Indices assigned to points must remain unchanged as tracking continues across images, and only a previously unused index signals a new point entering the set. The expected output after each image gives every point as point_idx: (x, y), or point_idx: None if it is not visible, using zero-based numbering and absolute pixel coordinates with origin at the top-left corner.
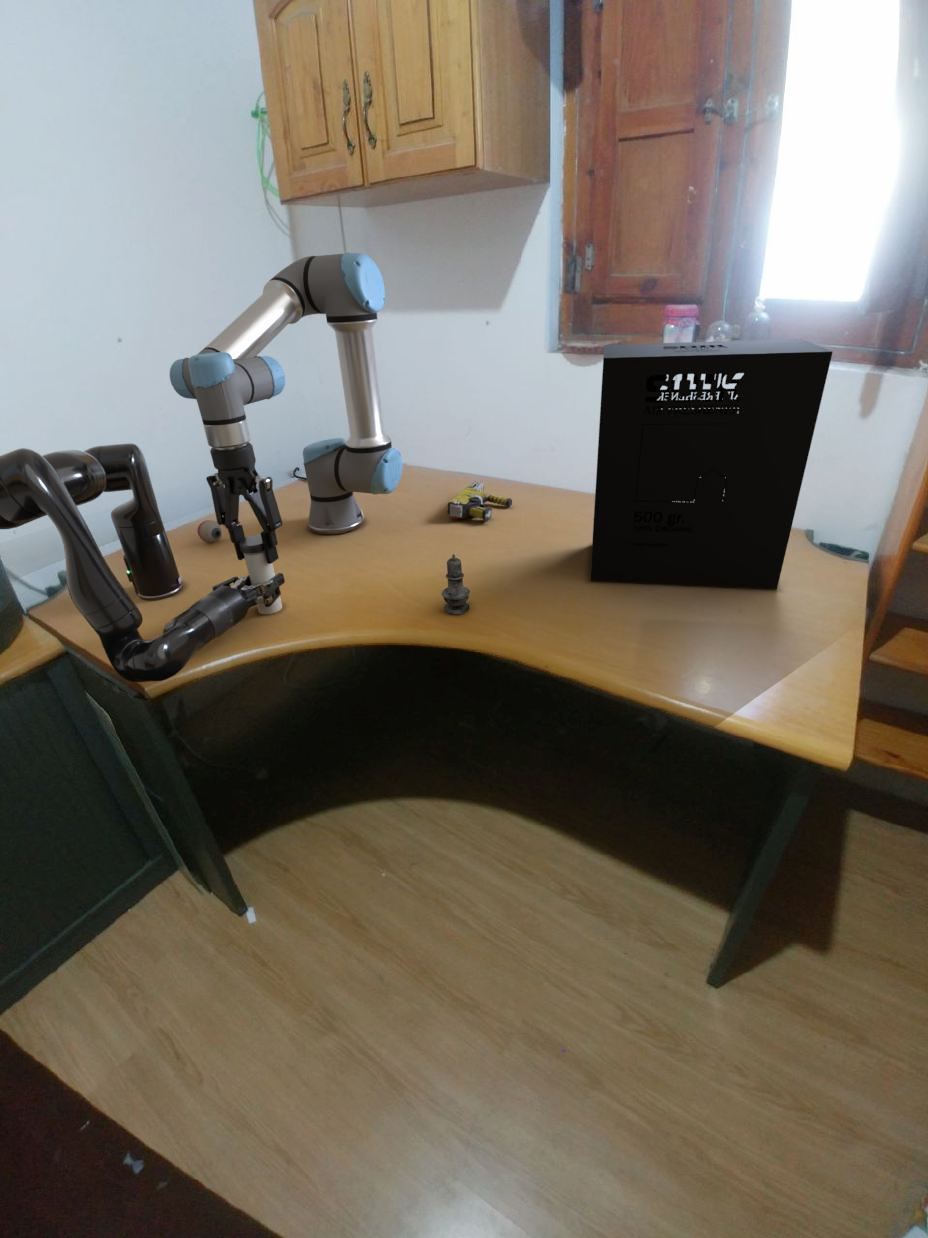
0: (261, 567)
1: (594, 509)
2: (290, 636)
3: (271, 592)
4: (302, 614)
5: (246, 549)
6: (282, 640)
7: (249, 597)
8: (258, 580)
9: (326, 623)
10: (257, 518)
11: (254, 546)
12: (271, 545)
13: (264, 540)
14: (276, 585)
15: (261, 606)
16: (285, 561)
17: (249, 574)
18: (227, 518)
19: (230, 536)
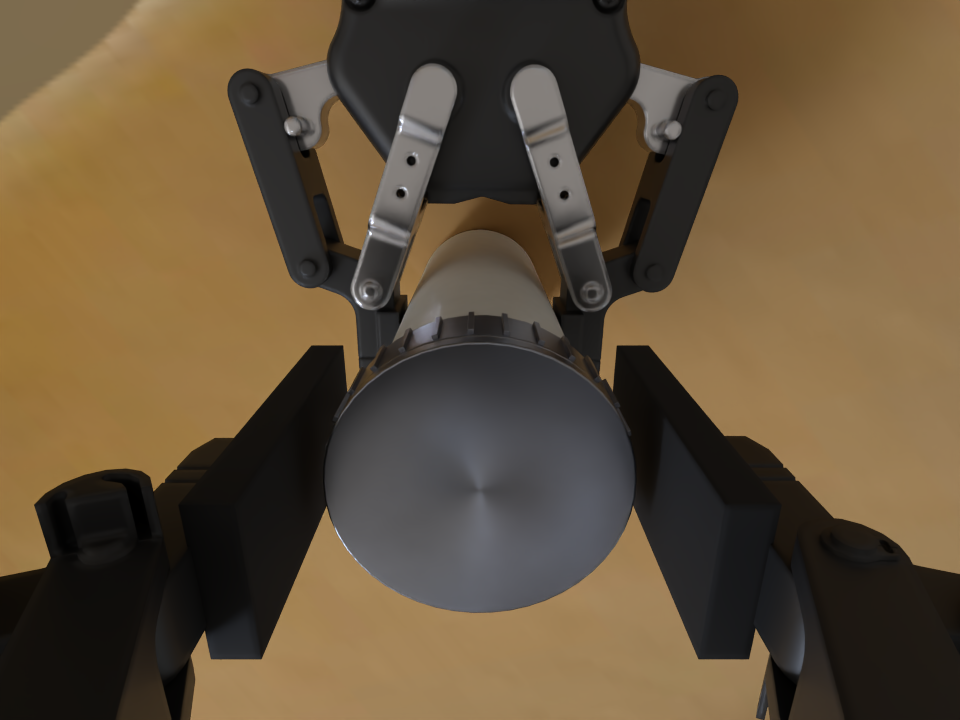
0: (408, 321)
1: None
2: (194, 70)
3: (248, 150)
4: (290, 283)
5: (469, 328)
6: (203, 19)
7: (347, 28)
8: (450, 271)
9: (119, 239)
10: (99, 715)
11: (375, 372)
12: (220, 447)
13: (233, 447)
14: (281, 245)
15: (478, 236)
16: (684, 667)
17: (526, 287)
18: (903, 655)
19: (783, 475)
